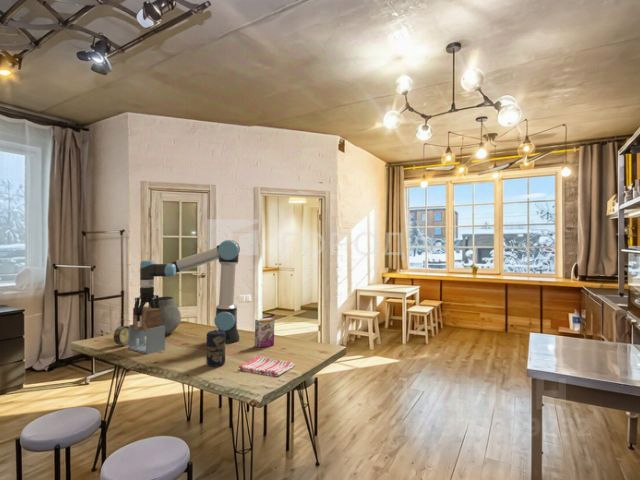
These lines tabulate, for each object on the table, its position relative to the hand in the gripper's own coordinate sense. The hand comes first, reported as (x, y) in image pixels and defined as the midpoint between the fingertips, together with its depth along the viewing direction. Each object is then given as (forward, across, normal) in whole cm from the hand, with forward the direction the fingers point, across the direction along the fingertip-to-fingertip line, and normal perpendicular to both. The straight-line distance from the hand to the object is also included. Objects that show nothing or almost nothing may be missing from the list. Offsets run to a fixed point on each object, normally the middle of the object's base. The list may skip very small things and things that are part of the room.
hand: (146, 325), depth 218 cm
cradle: (+14, 0, 0) cm, 14 cm away
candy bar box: (+14, +44, -53) cm, 70 cm away
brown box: (+2, 0, 0) cm, 2 cm away
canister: (+14, +4, -55) cm, 57 cm away
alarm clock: (+15, -4, +19) cm, 24 cm away
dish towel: (+15, +15, -81) cm, 83 cm away
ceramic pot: (+14, +26, +24) cm, 38 cm away
